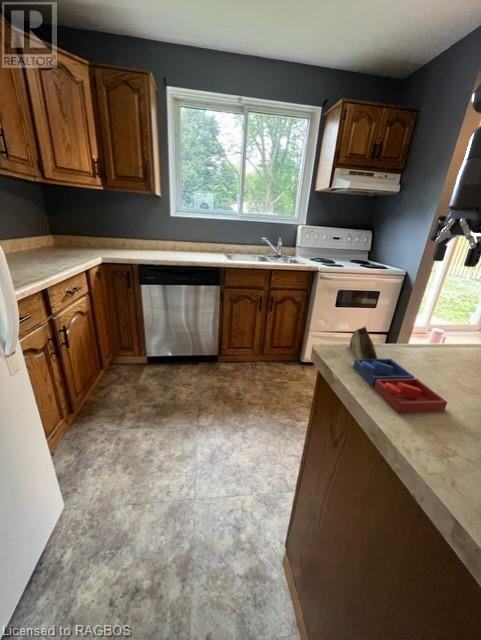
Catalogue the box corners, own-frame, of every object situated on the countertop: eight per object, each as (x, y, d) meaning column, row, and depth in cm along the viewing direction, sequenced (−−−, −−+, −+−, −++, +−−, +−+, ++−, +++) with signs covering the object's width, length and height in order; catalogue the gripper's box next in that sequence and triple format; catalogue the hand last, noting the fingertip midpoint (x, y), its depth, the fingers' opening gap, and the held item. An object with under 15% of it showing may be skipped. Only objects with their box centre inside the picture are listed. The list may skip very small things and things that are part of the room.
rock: (341, 339, 84) (337, 345, 75) (363, 320, 80) (362, 324, 71) (367, 366, 81) (366, 375, 72) (391, 348, 78) (394, 356, 69)
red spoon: (409, 393, 61) (414, 385, 60) (419, 402, 58) (425, 393, 57) (380, 384, 59) (385, 376, 58) (389, 393, 56) (395, 384, 55)
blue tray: (388, 366, 73) (391, 358, 72) (411, 385, 65) (414, 376, 64) (353, 367, 72) (354, 359, 71) (371, 386, 63) (374, 377, 63)
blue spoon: (384, 371, 70) (388, 363, 69) (392, 377, 67) (396, 370, 66) (358, 363, 68) (362, 355, 67) (365, 369, 65) (369, 362, 64)
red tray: (413, 387, 64) (416, 378, 63) (444, 411, 56) (447, 402, 55) (373, 388, 63) (375, 379, 62) (398, 413, 55) (401, 403, 54)
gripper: (530, 181, 50) (497, 269, 56) (463, 189, 63) (442, 259, 69) (494, 178, 49) (465, 268, 55) (433, 187, 62) (415, 258, 68)
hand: (452, 263), depth 62 cm, fingers open, 8 cm apart
